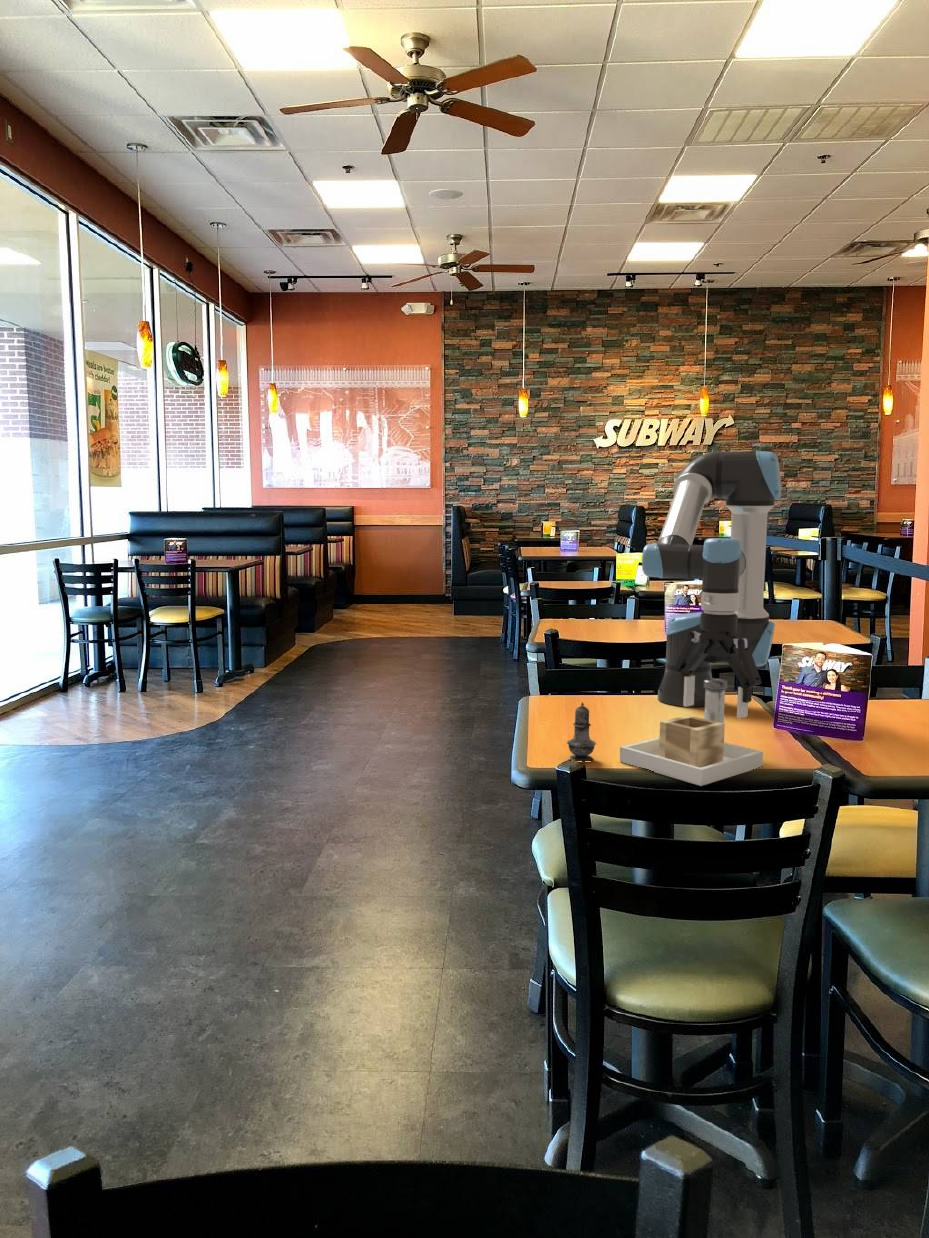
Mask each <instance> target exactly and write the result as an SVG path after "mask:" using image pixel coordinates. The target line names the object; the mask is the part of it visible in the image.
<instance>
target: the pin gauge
mask: <svg viewBox="0 0 929 1238" xmlns="http://www.w3.org/2000/svg"><path fill="white" fill-rule="evenodd" d="M704 688H705V706H704V718H703V719H707V720H711V721H715V722H720V723H724V724H725V722H724V721H725V702H726V700H725V699H726V695H725V694H726V690H727V689H728V680H727V679H725V678H718V677H717V678H716V677H715V678H714V677H712V678H708V679H704Z"/></svg>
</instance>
